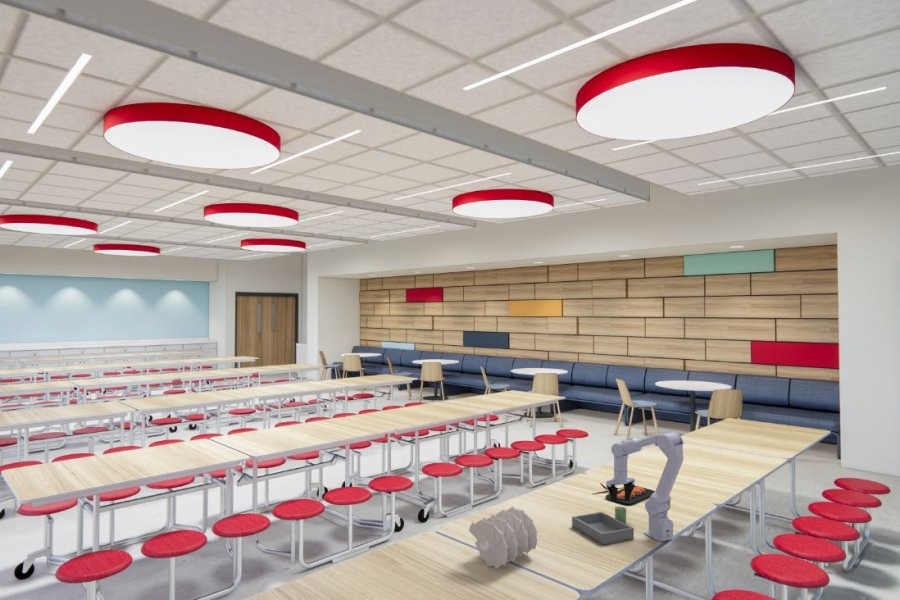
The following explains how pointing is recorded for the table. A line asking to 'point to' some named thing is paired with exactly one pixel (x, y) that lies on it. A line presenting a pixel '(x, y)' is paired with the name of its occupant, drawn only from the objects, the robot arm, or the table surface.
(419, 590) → the table surface
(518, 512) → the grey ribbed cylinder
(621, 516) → the green rounded tapered piece
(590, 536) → the bin
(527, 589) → the table surface
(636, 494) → the sushi plate
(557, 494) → the table surface
